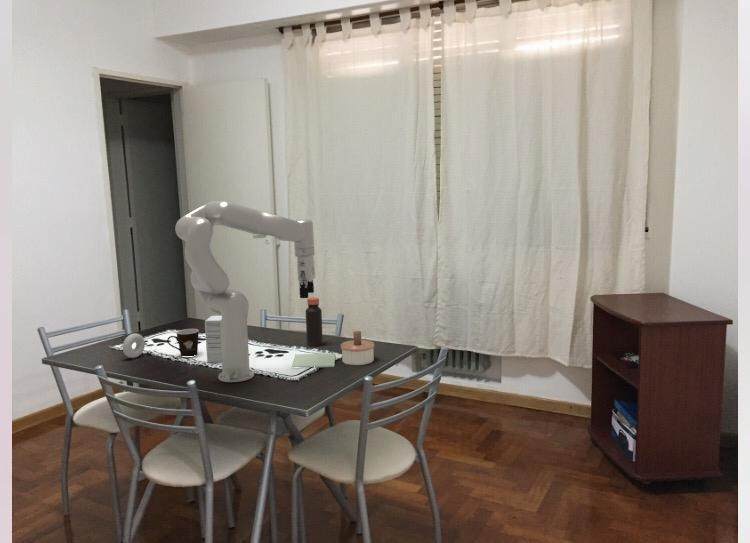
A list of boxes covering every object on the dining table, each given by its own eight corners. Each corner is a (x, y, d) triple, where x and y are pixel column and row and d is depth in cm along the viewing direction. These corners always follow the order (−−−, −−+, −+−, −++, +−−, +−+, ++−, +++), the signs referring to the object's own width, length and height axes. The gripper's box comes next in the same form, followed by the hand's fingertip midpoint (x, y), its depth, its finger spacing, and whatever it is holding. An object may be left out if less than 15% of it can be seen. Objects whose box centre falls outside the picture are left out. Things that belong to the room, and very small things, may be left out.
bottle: (318, 347, 246) (317, 300, 243) (304, 345, 248) (302, 299, 245) (325, 342, 252) (323, 297, 249) (310, 341, 254) (309, 296, 251)
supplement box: (230, 362, 227) (228, 320, 224) (206, 363, 227) (204, 320, 224) (236, 355, 236) (233, 314, 234) (213, 355, 236) (210, 315, 234)
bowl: (374, 364, 221) (373, 350, 220) (342, 365, 220) (342, 351, 219) (372, 355, 232) (372, 341, 232) (342, 356, 232) (342, 343, 231)
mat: (334, 366, 219) (334, 365, 219) (291, 368, 218) (291, 366, 218) (335, 354, 235) (335, 353, 235) (295, 355, 234) (295, 354, 234)
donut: (127, 361, 231) (125, 337, 229) (121, 360, 232) (119, 336, 231) (147, 354, 240) (145, 331, 238) (141, 353, 241) (139, 330, 240)
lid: (375, 350, 219) (374, 335, 218) (340, 352, 219) (340, 336, 218) (373, 341, 232) (373, 327, 231) (340, 342, 232) (340, 328, 231)
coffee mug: (203, 352, 241) (202, 328, 240) (195, 358, 233) (193, 334, 231) (176, 352, 243) (174, 328, 241) (167, 358, 234) (165, 334, 233)
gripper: (309, 254, 215) (311, 300, 218) (318, 248, 232) (321, 290, 235) (289, 255, 216) (292, 300, 219) (300, 249, 233) (302, 290, 236)
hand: (307, 295), depth 227 cm, fingers open, 9 cm apart
